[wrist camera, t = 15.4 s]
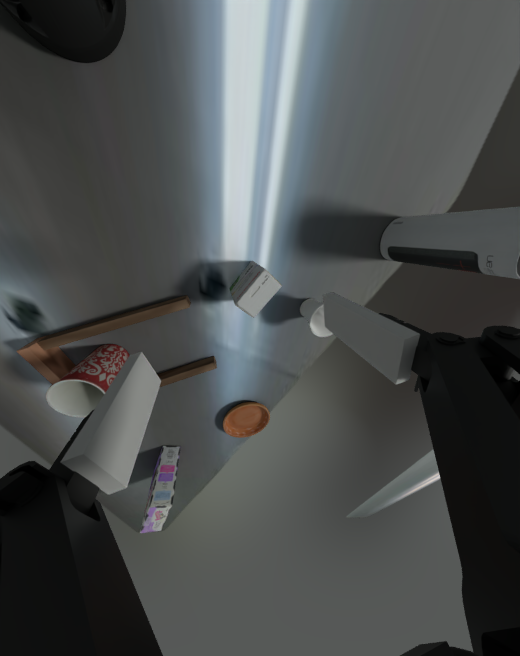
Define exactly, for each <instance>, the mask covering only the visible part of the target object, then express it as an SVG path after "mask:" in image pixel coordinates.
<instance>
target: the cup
mask: <svg viewBox="0 0 520 656" xmlns="http://www.w3.org/2000/svg"><path fill="white" fill-rule="evenodd" d="M300 313H301V315H302V316H303V317H305V318H306V319H307V321H308V323H309V327H310V329H311V332H312V333H313V334H314V335H316V336H318V337H327V336H330V335H332V334H333V333H332V332H331V331H329V330H328V329H327V328H326V327H325V322H324V305H323V302H319V301H317V300H315V299H307V300H305V301H304V302H303V303H302V304H301V307H300Z"/></svg>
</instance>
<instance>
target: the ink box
mask: <svg viewBox="0 0 520 656" xmlns="http://www.w3.org/2000/svg"><path fill="white" fill-rule="evenodd" d="M281 286H282V285H281V284H280V283H279V282H278V281H277V280H276V279H275V278H274V277H273V276H272V275H271V274H270V273H269V272H268V271H267V270H266V269H264V268H263V267H261V266H260V265H258V264H257V263H255V262H254V261H251V262H250V263H249V265H248V266H247V267H246V268H245V270H244V271H243V272H242V273H241V275H240V276H239V277H238V279H237V280H236V281H235V282H234V284H233V285H232V286H231V287H230V291H231V294H232V297H233V300H234V303H235V305H236V306H237V307H238V308H240V309H241V310H242V311H244V312H245V313H247V314H248V315H250V316H251V317H253V318H254V317H255V316H256V315H257V314H258V313H259V312H260V311H261V309H262V308H263V307H264V306H265V305H266V304H267V303H268V301H269V300H270V299H271V298H272V297H273V296H274V295H275V293H276V292H277V291H278V290H279V289H280V288H281Z"/></svg>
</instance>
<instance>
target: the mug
mask: <svg viewBox="0 0 520 656" xmlns="http://www.w3.org/2000/svg"><path fill="white" fill-rule="evenodd" d="M128 357H129V354H128V352H127V351H126V350H125V349H124V348H122V347H121V346H118V345H115V344H105V345H102V346H100V347H98V348H97V349H96V350H94V351H93V352H92V353H91V354H90V355H89V356H87V357H86V358H85V359H84V360H83V361H81V362H80V363H79V364H78V365H77V366H76V367H75V368H73V369H72V370H71V371H70V372H69V373H67V374H66V375H65V376H64V377H63V378H62V379H60V380H59V381H58V382H56V383H54V384H53V385H52V386H50V387H49V389H48V390H47V393H46V400H47V402H48V404H49V405H50V406H51V407H52V408H53V409H54V410H56V411H58V412H59V413H62V414H64V415H68V416H72V417H86V416H87V415H88V414H89V413H90V412H91V411H92V410H94V409H95V408H96V406H97V405H98V403H99V402H100V400H101V399H102V397H103V396H104V394H105V393H106V391H107V390H108V388H109V386H110V385H111V383H112V382H113V380H114V379H115V377H116V376H117V374H118V373H119V371H120V370H121V368H122V366H123V365H124V363H125V362H126V360H127V359H128Z"/></svg>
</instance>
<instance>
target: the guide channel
mask: <svg viewBox="0 0 520 656" xmlns="http://www.w3.org/2000/svg"><path fill="white" fill-rule="evenodd" d="M190 304H191V302H190V300H189V298H188V296H187V295H185V296H182V297H178V298H175V299H171V300H168V301H165V302H161V303H158V304H154V305H151V306H147V307H144V308H140V309H137V310H133V311H130V312H127V313H123V314H120V315H116V316H113V317H109V318H106V319H102V320H99V321H95V322H92V323H88V324H85V325H82V326H78V327H75V328H71V329H68V330H64V331H61V332H57V333H54V334H50V335H47V336H44V337H40V338H37V339H35V340H34V341H32V342H31V343H29V344H27V345H26V346H24V347H22V348H21V349H19V350H18V351H17V352H18V353H19V354H20V355H21V356H22V357H23V358H24V359H25V360H26V361H28V362H29V363H30V364H31V365H32V366H33V367H34V368H35V369H36V370H37V371H38V372H39V373H40V374H42V375H43V376H44V377H45V378H46V379H47V380H48V381H49V382H50V383H51V384H52V385H53V384H54V383H56V382H58V381H59V380H60V379H62V378H63V377H64V376H65V375H66V374H67V373H69V372H70V371H71V370H72V369H73V368H75V367H76V365H75V364H74V363H73V362H72V361H71V360H70V359H69V358H68V357H67V356H66V355H65V354H64V352H63V351H62V350H61V349H60V348H59V347H58V346H61V345H64V344H68V343H71V342H74V341H78V340H81V339H84V338H88V337H91V336H95V335H98V334H101V333H105V332H108V331H111V330H115V329H118V328H122V327H125V326H128V325H132V324H135V323H138V322H142V321H145V320H149V319H152V318H155V317H159V316H162V315H165V314H169V313H172V312H175V311H179V310H182V309H186V308H189V307H190ZM215 368H217V365H216V360H215V357H214V356H212V357H209V358H206V359H203V360H200V361H197V362H194V363H191V364H188V365H185V366H182V367H178V368H175V369H172V370H169V371H166V372H163V373H160V374H157V375H158V377H159V378H160V380H161V384H160V387H162V386H165V385H168V384H171V383H174V382H177V381H180V380H183V379H186V378H189V377H192V376H195V375H198V374H201V373H204V372H207V371H210V370H212V369H215Z"/></svg>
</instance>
